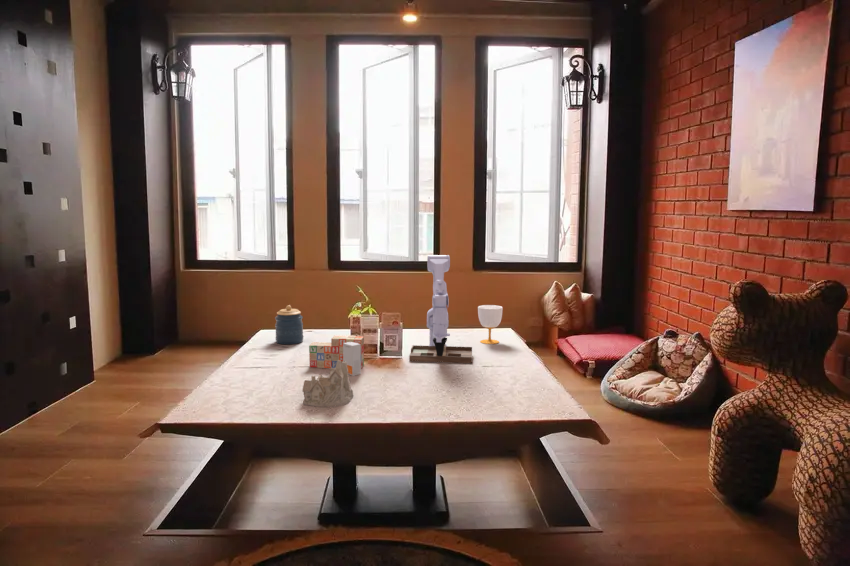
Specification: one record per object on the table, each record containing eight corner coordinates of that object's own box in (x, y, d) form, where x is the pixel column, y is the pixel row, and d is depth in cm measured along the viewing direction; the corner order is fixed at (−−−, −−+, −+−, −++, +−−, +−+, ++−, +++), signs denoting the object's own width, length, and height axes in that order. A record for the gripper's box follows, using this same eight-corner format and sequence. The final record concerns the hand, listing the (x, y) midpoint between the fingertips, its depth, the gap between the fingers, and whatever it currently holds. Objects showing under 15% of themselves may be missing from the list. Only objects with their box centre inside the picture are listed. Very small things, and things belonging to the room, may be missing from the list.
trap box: (412, 354, 267) (412, 345, 266) (471, 355, 264) (472, 346, 264) (409, 361, 255) (409, 352, 254) (471, 363, 253) (471, 353, 252)
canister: (294, 337, 299) (293, 302, 296) (308, 342, 289) (307, 305, 287) (270, 341, 290) (269, 305, 288) (284, 346, 281) (283, 308, 278)
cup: (477, 338, 297) (478, 304, 295) (502, 339, 296) (502, 305, 294) (476, 344, 286) (477, 308, 284) (501, 345, 284) (502, 309, 282)
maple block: (436, 353, 259) (436, 344, 258) (445, 353, 258) (445, 344, 258) (435, 355, 255) (435, 346, 254) (445, 355, 254) (445, 346, 254)
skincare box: (342, 373, 237) (342, 343, 236) (351, 370, 240) (350, 341, 239) (353, 376, 233) (352, 345, 231) (361, 373, 236) (361, 343, 235)
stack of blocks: (309, 367, 245) (308, 338, 243) (313, 363, 251) (312, 334, 249) (361, 369, 243) (361, 339, 242) (364, 365, 250) (364, 335, 248)
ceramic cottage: (358, 393, 212) (355, 351, 210) (342, 410, 196) (338, 365, 194) (317, 392, 216) (313, 351, 213) (297, 409, 200) (293, 365, 198)
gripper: (448, 327, 242) (448, 360, 243) (450, 320, 256) (450, 351, 258) (431, 326, 242) (431, 359, 244) (434, 319, 257) (433, 351, 258)
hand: (439, 355), depth 251 cm, fingers closed
